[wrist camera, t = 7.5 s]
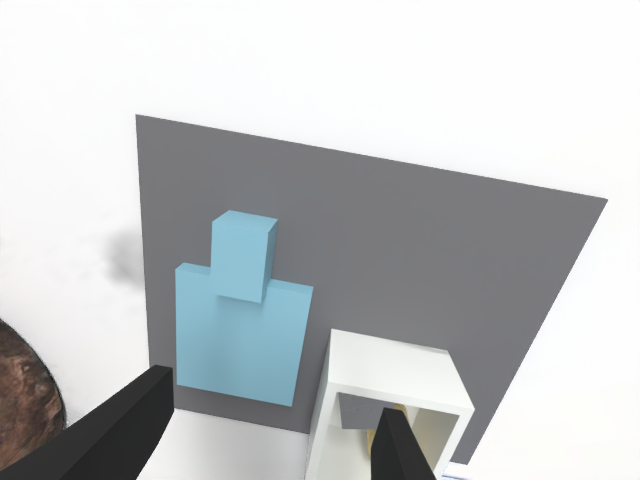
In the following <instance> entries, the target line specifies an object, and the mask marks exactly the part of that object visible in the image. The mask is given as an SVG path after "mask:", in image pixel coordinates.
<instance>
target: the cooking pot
mask: <svg viewBox="0 0 640 480" xmlns="http://www.w3.org/2000/svg"><path fill="white" fill-rule="evenodd" d="M62 426H63V408H62V402H61V399H60V396H59V392H58V389H57V386H56V384H55V383H54V381H53V379H52V377H51V375H50V373H49V372H48V370H47V368H46V367H45V365H44V364H43V363H42V361H41V360H40V359H39V357H38V356H37V355H36V353H35V352H34V351H33V349H32V348H31V347H30V346H29V345H28V344H27V343H26V342H25V341H24V340H23V339H22V338H21V337H20V336H19V335H18V334H17V333H16V332H15V331H14V330H13V329H12V328H11V327H10V326H8V325H7V324H6V323H5V322H3V321H2V320H1V319H0V471H1V470H3V469H5V468H6V467H8V466H10V465H11V464H13V463H15V462H16V461H18V460H19V459H21V458H23V457H24V456H26V455H27V454H29V453H30V452H32V451H34V450H35V449H37V448H38V447H40V446H41V445H43V444H44V443H46V442H47V441H49V440H50V439H52V438H53V437H55V436H56V435H58V434H59V433H61V431H62Z"/></svg>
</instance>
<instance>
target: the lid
mask: <svg viewBox="0 0 640 480" xmlns="http://www.w3.org/2000/svg"><path fill="white" fill-rule="evenodd" d="M277 225H278V219H275V218H270V217H264V216H259V215H253V214H248V213H242V212H237V211H232V210H228V211H227V212H226V213H224V214H223V215H221V216H220V217H218V218H217V219H215V220H214V221H213V222H212V245H211V268H210V267H205V266H200V265H194V264H189V263H182V264H181V265H180V266H179V267H178V268H176V269H175V278H176V357H177V385H182V386H187V387H192V388H197V389H203V390H208V391H213V392H218V393H223V394H228V395H234V396H239V397H244V398H249V399H254V400H260V401H265V402H270V403H275V404H280V405H285V406H291V407H292V402H293V397H294V391H295V386H296V380H297V375H298V369H299V364H300V358H301V353H302V347H303V342H304V336H305V331H306V325H307V320H308V314H309V309H310V303H311V298H312V292H313V287H312V286H307V285H301V284H296V283H291V282H285V281H280V280H275V279H271V275H272V266H273V258H274V250H275V242H276V233H277Z"/></svg>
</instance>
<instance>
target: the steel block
mask: <svg viewBox="0 0 640 480" xmlns="http://www.w3.org/2000/svg"><path fill="white" fill-rule="evenodd" d="M338 394H339V404H340V414H341V424H342V429H377V427H378V424H379V421H380V417H381V414H382V411H383V408H384V407H386V408H392V409H394V402H389V401H383V400H378V399H373V398H368V397H362V396H357V395H352V394H347V393H342V392H338Z"/></svg>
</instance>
